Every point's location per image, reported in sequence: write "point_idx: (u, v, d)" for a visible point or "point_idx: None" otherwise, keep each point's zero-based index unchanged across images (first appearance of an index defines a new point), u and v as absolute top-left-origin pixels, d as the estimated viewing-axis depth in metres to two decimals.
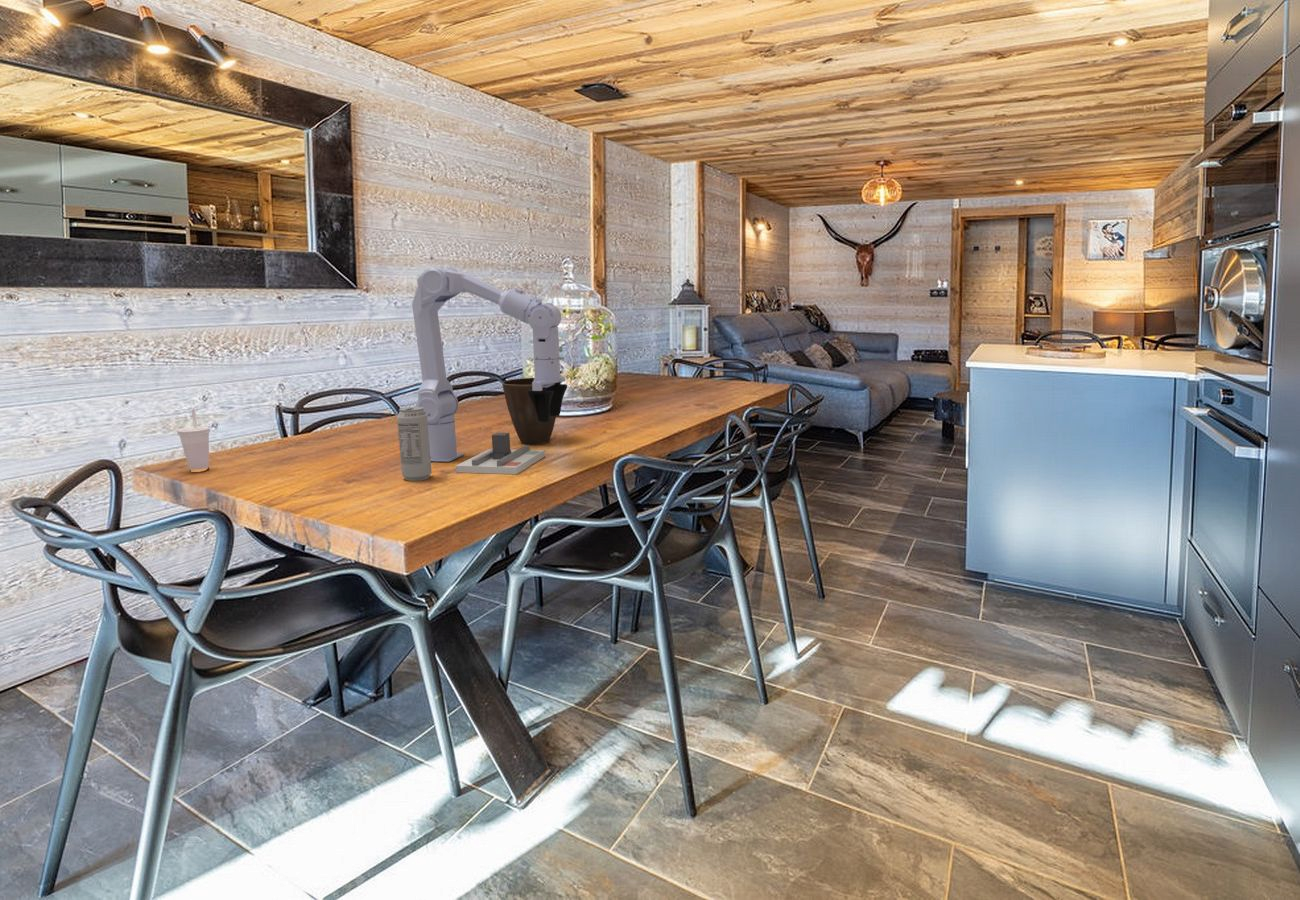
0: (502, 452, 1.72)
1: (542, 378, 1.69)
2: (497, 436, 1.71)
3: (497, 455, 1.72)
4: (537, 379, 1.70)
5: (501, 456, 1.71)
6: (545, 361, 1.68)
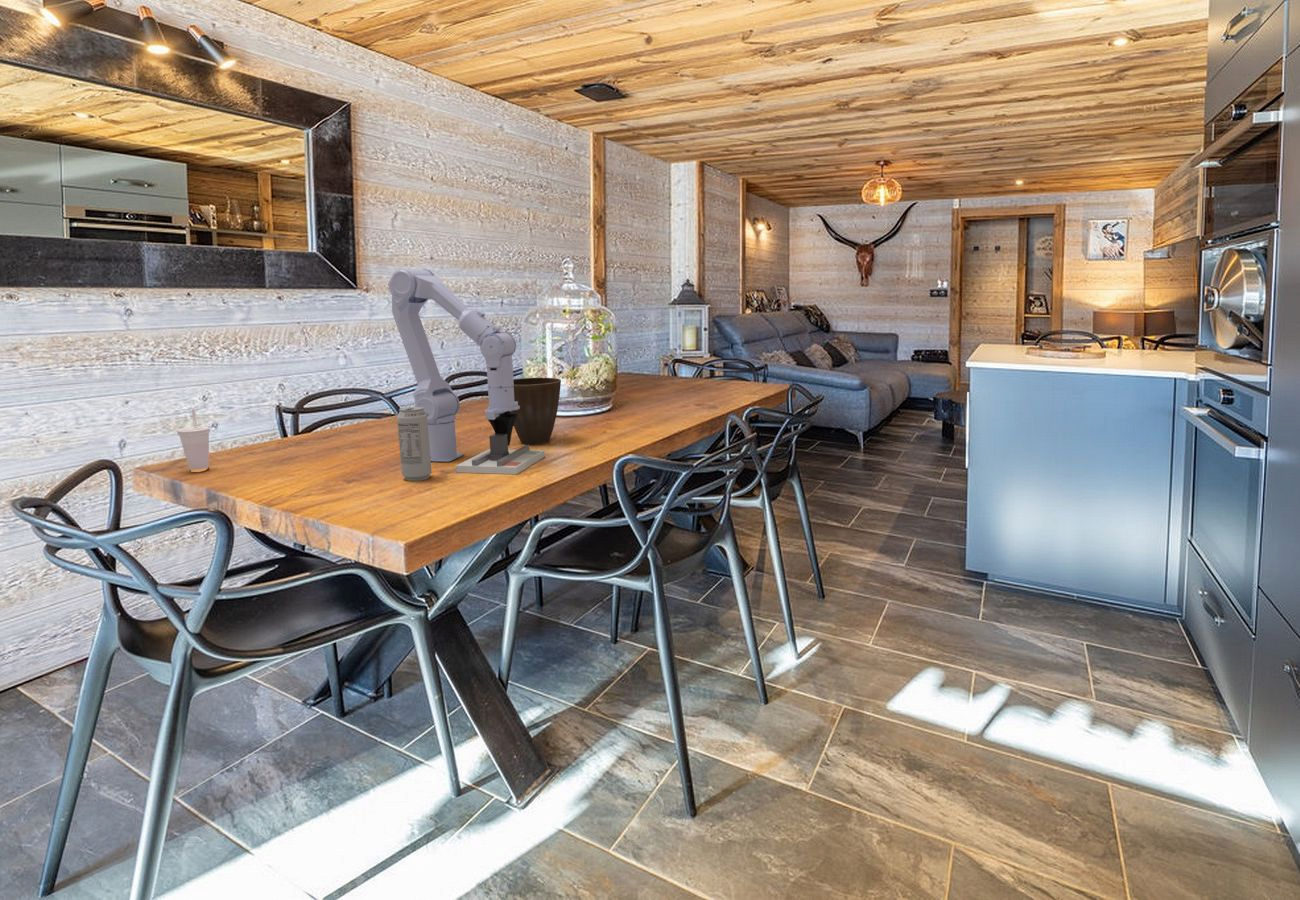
0: (500, 453, 1.71)
1: (496, 406, 1.70)
2: (494, 437, 1.70)
3: (495, 456, 1.70)
4: (491, 407, 1.71)
5: (499, 457, 1.70)
6: (498, 389, 1.69)
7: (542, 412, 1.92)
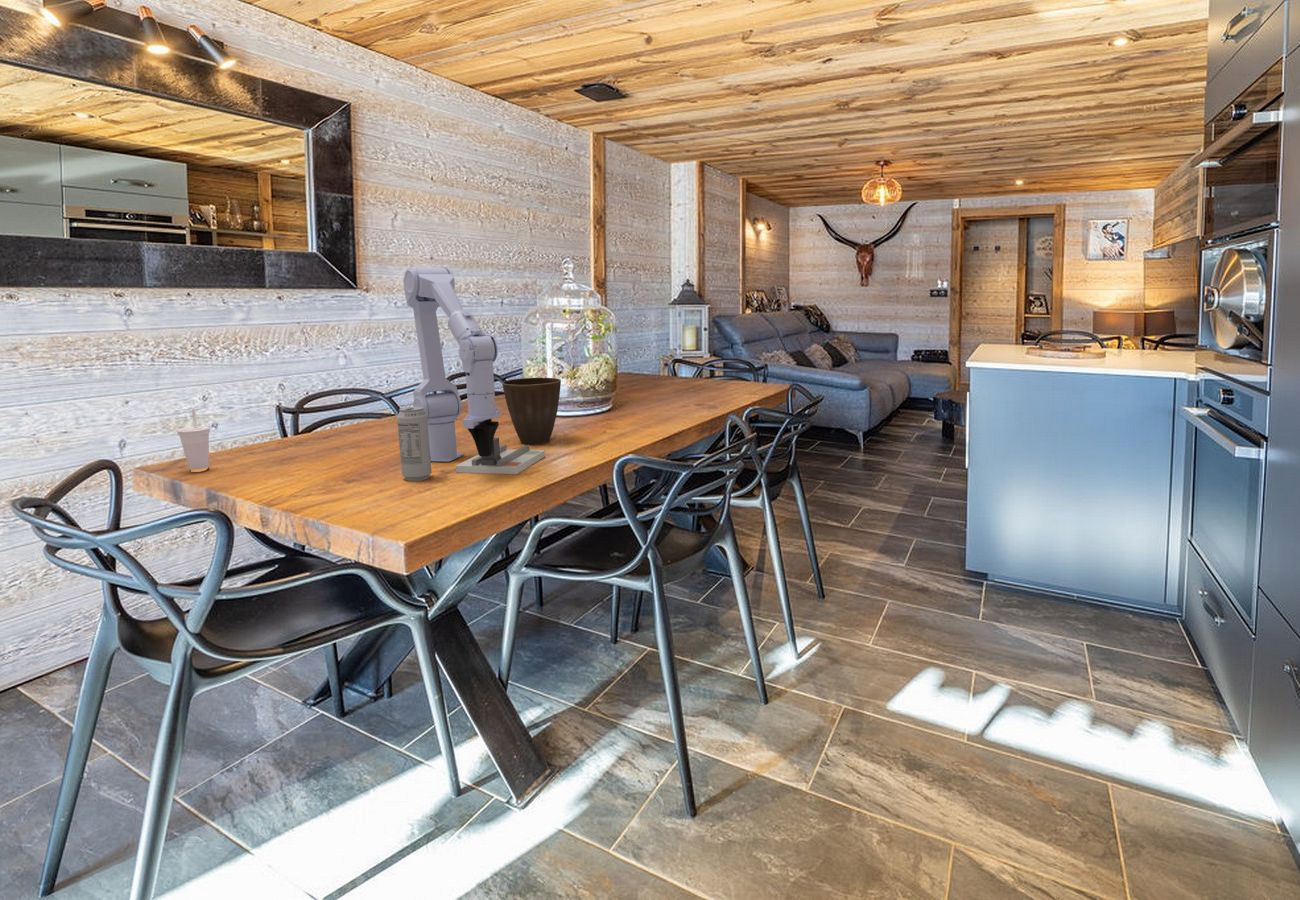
0: (491, 458, 1.66)
1: (475, 414, 1.60)
2: None
3: (486, 461, 1.66)
4: (470, 415, 1.61)
5: (490, 462, 1.66)
6: (478, 396, 1.59)
7: (542, 412, 1.92)
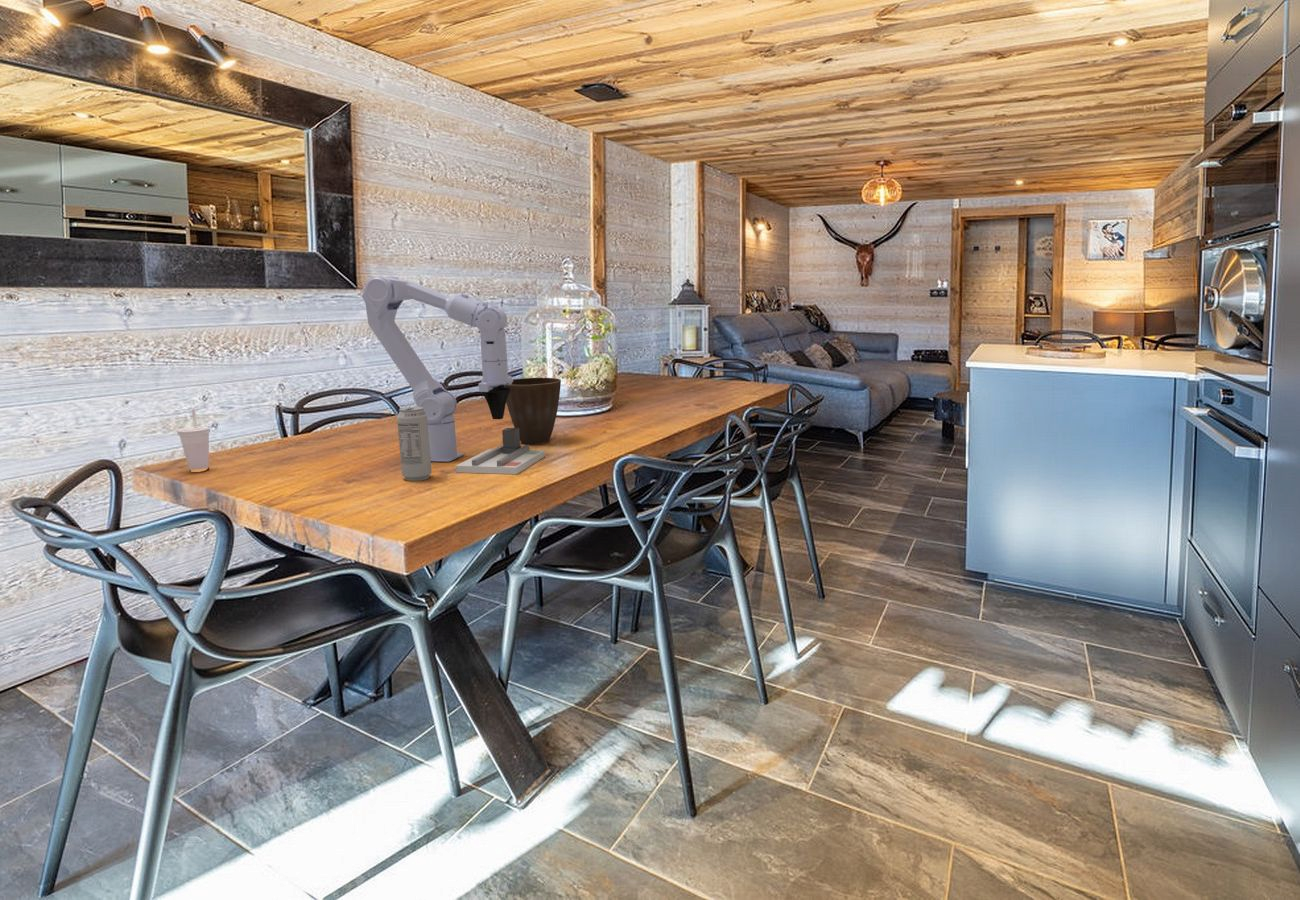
0: (512, 447, 1.78)
1: (489, 379, 1.74)
2: (507, 431, 1.77)
3: (507, 449, 1.77)
4: (485, 380, 1.74)
5: (511, 450, 1.77)
6: (492, 363, 1.73)
7: (542, 412, 1.92)
